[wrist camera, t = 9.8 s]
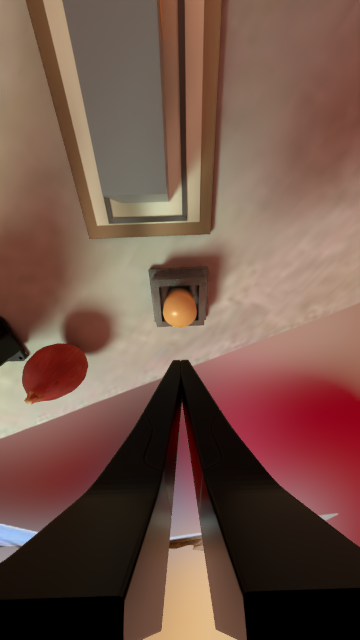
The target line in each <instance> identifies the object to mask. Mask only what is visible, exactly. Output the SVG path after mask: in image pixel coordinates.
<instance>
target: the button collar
mask: <svg viewBox="0 0 360 640" xmlns="http://www.w3.org/2000/svg"><path fill="white" fill-rule="evenodd" d="M149 277H150V285H151V293H152V301H153V310H154V318H155V322H156V323H157V327H166V326H172V325H170V324H168V323H167V322H166V320H165V319H164V316H163V308H164V302H165V298H166V295H167V294H168V293H169V292H170V291H171V290H173V289H176V288H183V289H186V290H188V291H189V292H191V294H192V295H193V297H194V301H195V305H196V309H197V315H196V318H195V320H194V321H193V322H192V323H191V324H190V325H188V326H195V325H204V320H206V306H207V285H208V267H186V268H158V269H149Z"/></svg>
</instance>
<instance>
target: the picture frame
mask: <svg viewBox="0 0 360 640" xmlns="http://www.w3.org/2000/svg"><path fill="white" fill-rule="evenodd" d="M26 3H27V7H28V10H29V14H30V18H31V22H32V25H33V29H34V33H35V37H36V40H37V44H38V48H39V51H40V55H41V59H42V63H43V66H44V70H45V74H46V78H47V81H48V85H49V89H50V92H51V96H52V100H53V104H54V107H55V111H56V115H57V119H58V122H59V126H60V130H61V133H62V137H63V141H64V145H65V148H66V152H67V156H68V160H69V163H70V167H71V171H72V175H73V178H74V182H75V186H76V189H77V193H78V197H79V201H80V204H81V208H82V212H83V216H84V219H85V223H86V227H87V230H88V234H89V238H90V239H95V238H121V237H148V236H175V235H201V234H210V228H211V207H212V187H213V167H214V147H215V126H216V106H217V86H218V66H219V45H220V25H221V5H222V0H161V10H162V32H163V39H162V51H163V73H164V95H165V117H166V139H167V160H168V182H169V202H147V203H119V202H117V201H114V200H112V199H109V198H107V197H104V196H102V191H101V186H100V181H99V176H98V171H97V166H96V162H95V157H94V152H93V147H92V142H91V137H90V132H89V127H88V123H87V118H86V113H85V108H84V103H83V98H82V93H81V88H80V84H79V79H78V74H77V69H76V64H75V59H74V54H73V50H72V45H71V40H70V35H69V30H68V25H67V20H66V15H65V11H64V6H63V1H62V0H26Z"/></svg>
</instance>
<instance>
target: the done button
mask: <svg viewBox="0 0 360 640" xmlns="http://www.w3.org/2000/svg"><path fill="white" fill-rule="evenodd" d="M196 315H197V309H196V305H195V301H194V297H193V295H192V294H191V292H189V291H188V290H186V289H183V288H176V289H173V290H171V291H170V292H169V293H168V294H167V295H166V298H165V302H164V308H163V316H164V319H165V320H166V322H167V323H168V324H170V325H172V326H174V327H186V326H188V325H190V324H191V323H192V322H193V321H194V320H195V318H196Z"/></svg>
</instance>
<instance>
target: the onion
mask: <svg viewBox="0 0 360 640" xmlns="http://www.w3.org/2000/svg"><path fill="white" fill-rule="evenodd" d="M87 368H88V362H87V358H86V356H85V354H84V353H83V352H82V351H81V350H80V349H79V348H78V347H77V346H73V345H71V344H54V345H50V346H46V347H43V348H41V349H40V350H38V351H37V352H36V353H35V354H34V355H33V356H32V357H31V358H30V359H29V360H28V361H27V363H26V364H25V366H24V369H23V376H22V383H23V387H24V389H25V391H26V393H27V394H28V395H27V398H26V399H25V400H24V401H25V402H26V403H28V404H33V403H35V402H40V401H49V400H54V399H57V398H60V397H62V396H64V395H66V394H68V393H70V392H72V391H73V390H75V389H76V388H77V387H78V386H79V385H80V384H81V383H82V381H83V380H84V378H85V376H86V372H87Z"/></svg>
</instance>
